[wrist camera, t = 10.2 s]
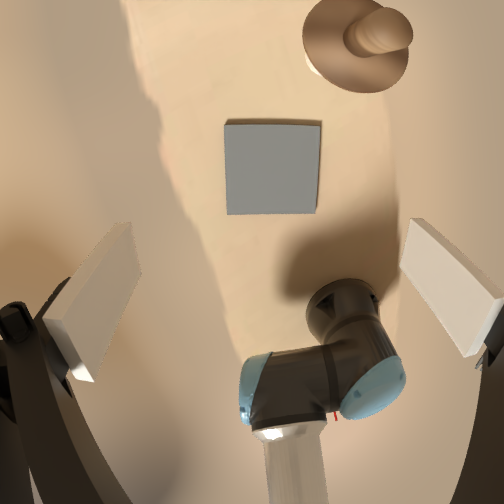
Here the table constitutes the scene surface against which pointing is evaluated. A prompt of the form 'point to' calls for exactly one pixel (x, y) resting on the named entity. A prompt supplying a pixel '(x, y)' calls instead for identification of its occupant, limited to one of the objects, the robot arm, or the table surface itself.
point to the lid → (357, 44)
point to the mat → (271, 168)
